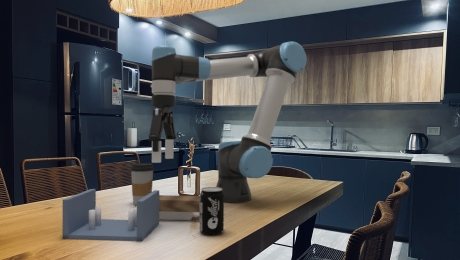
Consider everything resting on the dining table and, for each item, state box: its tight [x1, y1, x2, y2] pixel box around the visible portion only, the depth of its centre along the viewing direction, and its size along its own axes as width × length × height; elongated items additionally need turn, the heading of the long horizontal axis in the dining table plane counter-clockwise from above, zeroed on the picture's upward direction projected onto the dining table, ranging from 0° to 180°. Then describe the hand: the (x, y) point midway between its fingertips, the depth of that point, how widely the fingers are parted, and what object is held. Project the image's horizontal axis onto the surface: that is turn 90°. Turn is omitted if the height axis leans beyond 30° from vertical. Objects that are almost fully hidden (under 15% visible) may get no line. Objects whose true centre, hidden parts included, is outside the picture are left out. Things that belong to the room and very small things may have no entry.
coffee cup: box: [130, 162, 154, 207], centre depth 125 cm, size 8×8×15 cm
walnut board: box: [159, 194, 200, 213], centre depth 106 cm, size 16×7×4 cm, turn 86°
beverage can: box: [199, 186, 225, 236], centre depth 92 cm, size 7×7×12 cm
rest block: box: [159, 211, 193, 221], centre depth 106 cm, size 10×3×3 cm, turn 86°
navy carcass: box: [61, 188, 160, 242], centre depth 93 cm, size 21×15×10 cm
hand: (163, 160), depth 108 cm, fingers open, 13 cm apart
